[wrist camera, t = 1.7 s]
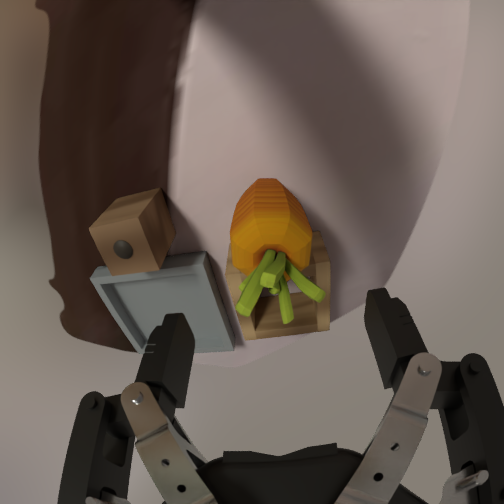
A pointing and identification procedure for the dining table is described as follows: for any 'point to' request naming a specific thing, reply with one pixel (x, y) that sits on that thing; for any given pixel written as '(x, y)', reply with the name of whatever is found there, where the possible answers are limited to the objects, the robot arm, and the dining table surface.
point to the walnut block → (134, 233)
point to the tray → (168, 301)
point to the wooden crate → (304, 308)
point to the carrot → (271, 246)
